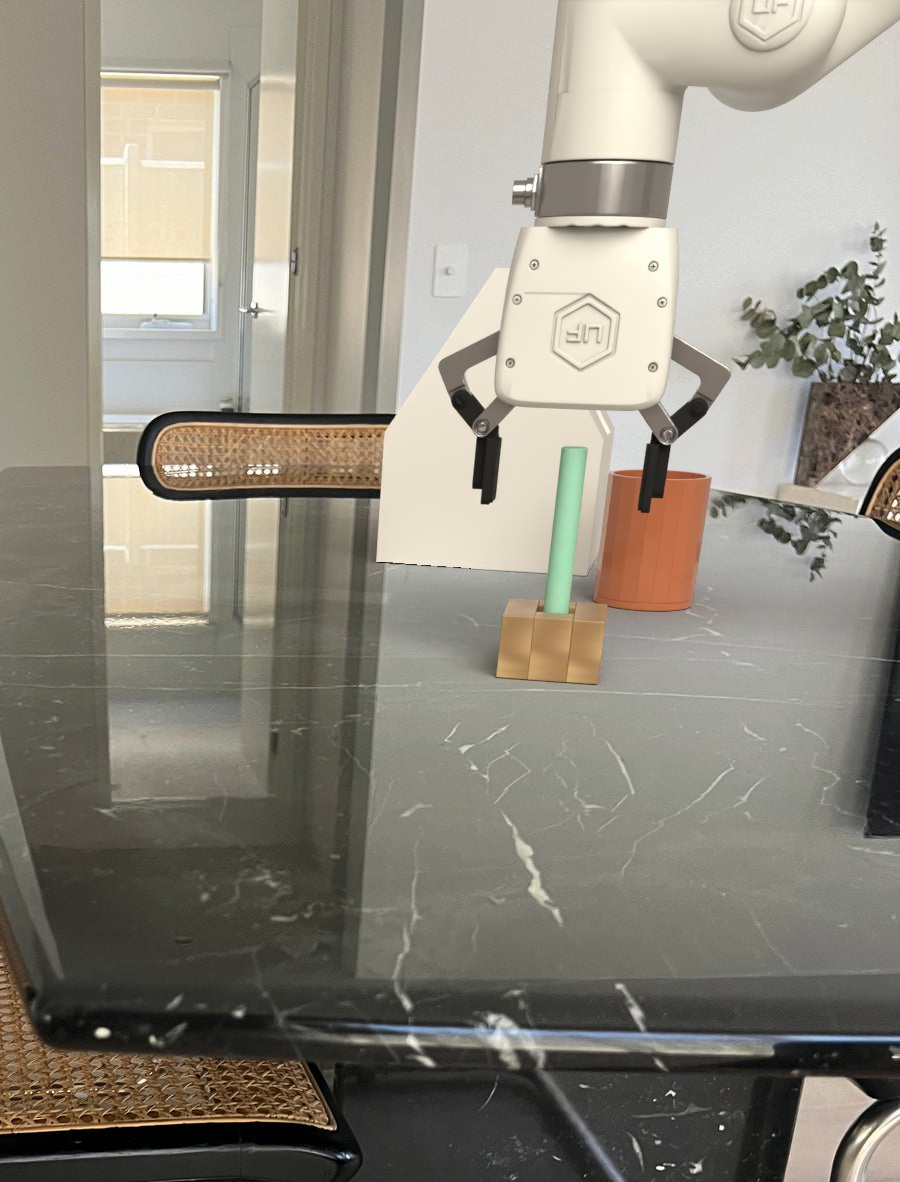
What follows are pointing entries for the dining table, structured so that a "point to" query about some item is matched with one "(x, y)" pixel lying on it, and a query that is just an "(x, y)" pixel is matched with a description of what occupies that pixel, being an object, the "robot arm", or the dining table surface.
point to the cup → (651, 542)
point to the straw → (565, 529)
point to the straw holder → (551, 642)
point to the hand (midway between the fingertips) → (564, 506)
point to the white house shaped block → (446, 462)
